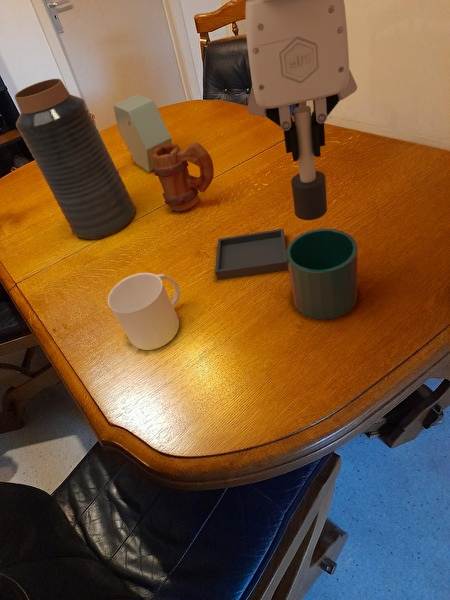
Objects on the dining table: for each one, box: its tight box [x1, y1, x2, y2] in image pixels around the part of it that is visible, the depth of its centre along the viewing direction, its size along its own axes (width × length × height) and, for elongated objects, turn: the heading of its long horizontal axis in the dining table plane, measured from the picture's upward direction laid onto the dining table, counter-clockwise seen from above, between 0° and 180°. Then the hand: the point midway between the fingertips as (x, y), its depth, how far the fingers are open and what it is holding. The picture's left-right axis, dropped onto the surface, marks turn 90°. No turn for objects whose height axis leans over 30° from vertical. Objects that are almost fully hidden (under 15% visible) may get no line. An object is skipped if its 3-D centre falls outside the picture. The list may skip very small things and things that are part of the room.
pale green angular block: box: [112, 94, 173, 173], centre depth 113 cm, size 17×8×21 cm
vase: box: [14, 78, 136, 240], centre depth 90 cm, size 16×16×32 cm
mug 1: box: [107, 272, 182, 351], centre depth 67 cm, size 12×9×9 cm
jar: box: [286, 228, 359, 321], centre depth 63 cm, size 10×10×10 cm
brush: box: [290, 105, 328, 221], centre depth 52 cm, size 4×4×14 cm
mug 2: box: [152, 141, 215, 212], centre depth 92 cm, size 15×8×15 cm, turn 70°
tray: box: [214, 228, 289, 281], centre depth 77 cm, size 13×10×2 cm
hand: (305, 153), depth 51 cm, fingers closed on brush, 2 cm apart
